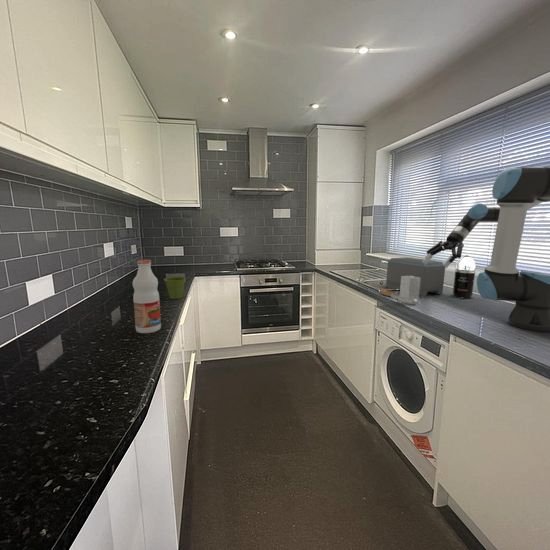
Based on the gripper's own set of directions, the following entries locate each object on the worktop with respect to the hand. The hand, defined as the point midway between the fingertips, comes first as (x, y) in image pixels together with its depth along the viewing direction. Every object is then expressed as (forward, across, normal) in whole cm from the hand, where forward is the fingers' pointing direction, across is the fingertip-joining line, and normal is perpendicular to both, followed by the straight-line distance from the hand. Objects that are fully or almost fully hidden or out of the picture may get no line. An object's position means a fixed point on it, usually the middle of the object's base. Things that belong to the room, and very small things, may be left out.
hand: (433, 264), depth 159 cm
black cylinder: (-6, +6, -37) cm, 38 cm away
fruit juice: (+116, +2, +88) cm, 145 cm away
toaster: (+6, +29, -24) cm, 38 cm away
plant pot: (+108, +52, +81) cm, 144 cm away
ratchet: (+23, +13, -7) cm, 27 cm away
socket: (+21, +4, -5) cm, 22 cm away
